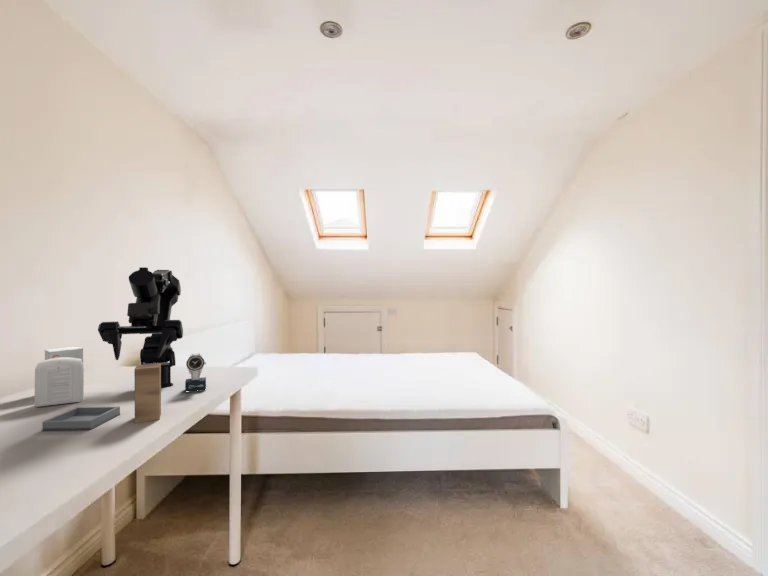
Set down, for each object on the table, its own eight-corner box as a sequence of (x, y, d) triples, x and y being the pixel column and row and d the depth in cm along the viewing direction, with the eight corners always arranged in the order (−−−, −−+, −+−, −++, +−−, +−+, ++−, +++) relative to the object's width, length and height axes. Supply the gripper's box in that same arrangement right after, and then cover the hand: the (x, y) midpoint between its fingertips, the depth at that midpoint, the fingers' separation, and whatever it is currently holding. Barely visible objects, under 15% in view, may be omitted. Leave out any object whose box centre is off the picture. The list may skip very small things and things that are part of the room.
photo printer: (84, 398, 109) (84, 354, 109) (83, 402, 106) (83, 357, 106) (36, 404, 104) (35, 358, 104) (32, 408, 100) (32, 361, 100)
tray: (77, 415, 95) (77, 407, 95) (119, 414, 95) (119, 406, 95) (42, 430, 85) (42, 421, 85) (90, 430, 85) (90, 420, 85)
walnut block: (137, 416, 94) (137, 365, 94) (160, 413, 96) (160, 363, 96) (134, 422, 90) (134, 369, 90) (159, 419, 92) (159, 367, 92)
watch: (184, 394, 113) (184, 356, 113) (186, 387, 121) (186, 352, 121) (205, 392, 115) (205, 355, 115) (206, 385, 123) (206, 351, 123)
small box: (78, 387, 121) (78, 345, 121) (83, 391, 117) (83, 348, 117) (44, 393, 115) (44, 349, 115) (48, 397, 111) (48, 351, 110)
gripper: (98, 290, 99) (84, 343, 89) (180, 290, 105) (175, 339, 96) (109, 316, 107) (97, 366, 97) (185, 314, 113) (180, 361, 104)
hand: (137, 358), depth 98 cm, fingers open, 9 cm apart
